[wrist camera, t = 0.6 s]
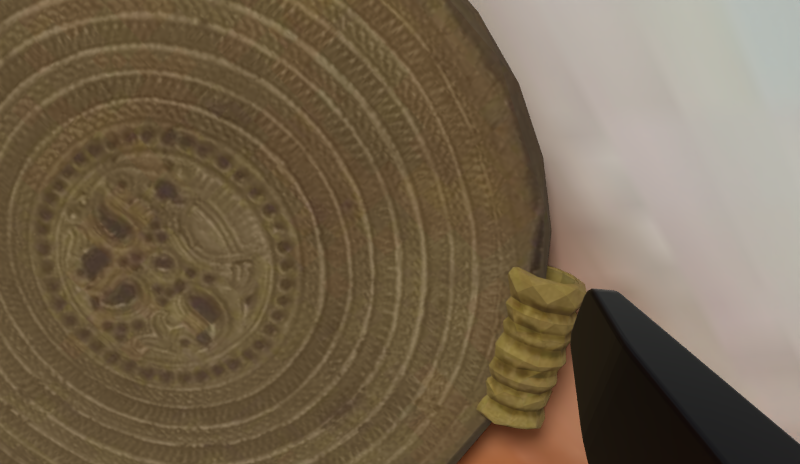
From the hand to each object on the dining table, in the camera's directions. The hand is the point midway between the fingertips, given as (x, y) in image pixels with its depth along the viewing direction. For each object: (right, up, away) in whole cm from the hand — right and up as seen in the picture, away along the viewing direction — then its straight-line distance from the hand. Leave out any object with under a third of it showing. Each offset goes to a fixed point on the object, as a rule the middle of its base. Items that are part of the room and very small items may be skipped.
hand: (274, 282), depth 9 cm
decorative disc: (-6, 0, +17) cm, 18 cm away
